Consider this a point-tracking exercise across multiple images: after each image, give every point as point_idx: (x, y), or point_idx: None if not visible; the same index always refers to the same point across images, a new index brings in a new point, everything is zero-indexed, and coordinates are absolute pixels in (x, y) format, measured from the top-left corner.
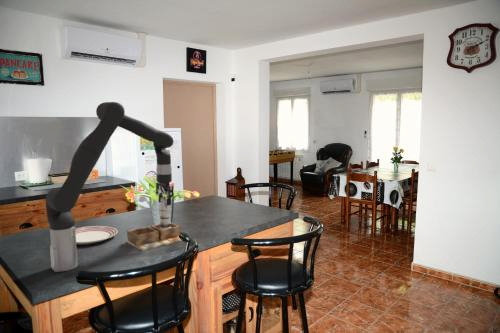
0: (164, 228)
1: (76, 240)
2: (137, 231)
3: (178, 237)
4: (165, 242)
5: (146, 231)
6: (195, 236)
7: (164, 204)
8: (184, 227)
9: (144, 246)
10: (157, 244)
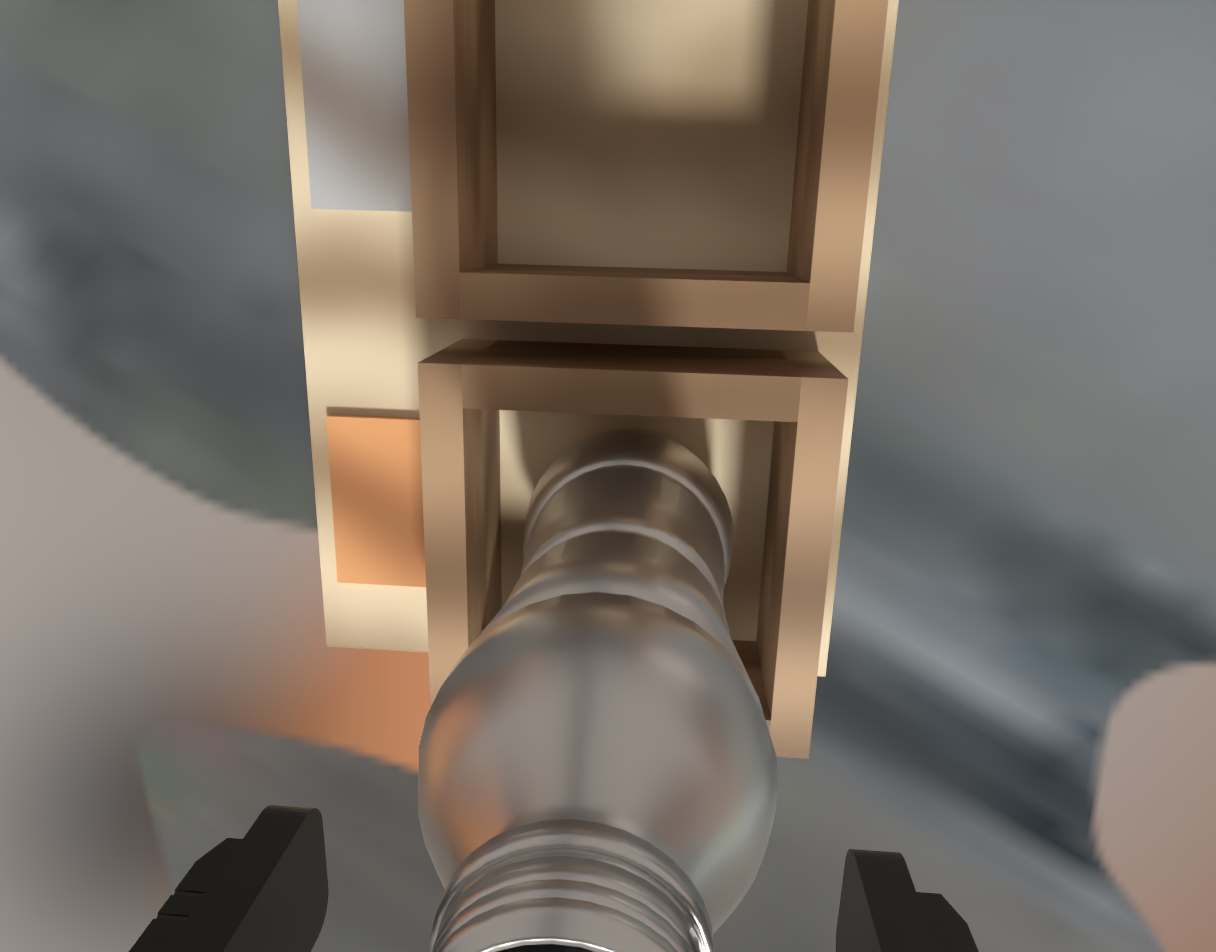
0: (544, 498)
1: None
2: (823, 61)
3: (392, 575)
4: (336, 335)
5: (799, 260)
6: (389, 784)
7: (463, 809)
8: (837, 909)
9: None
10: (312, 190)
